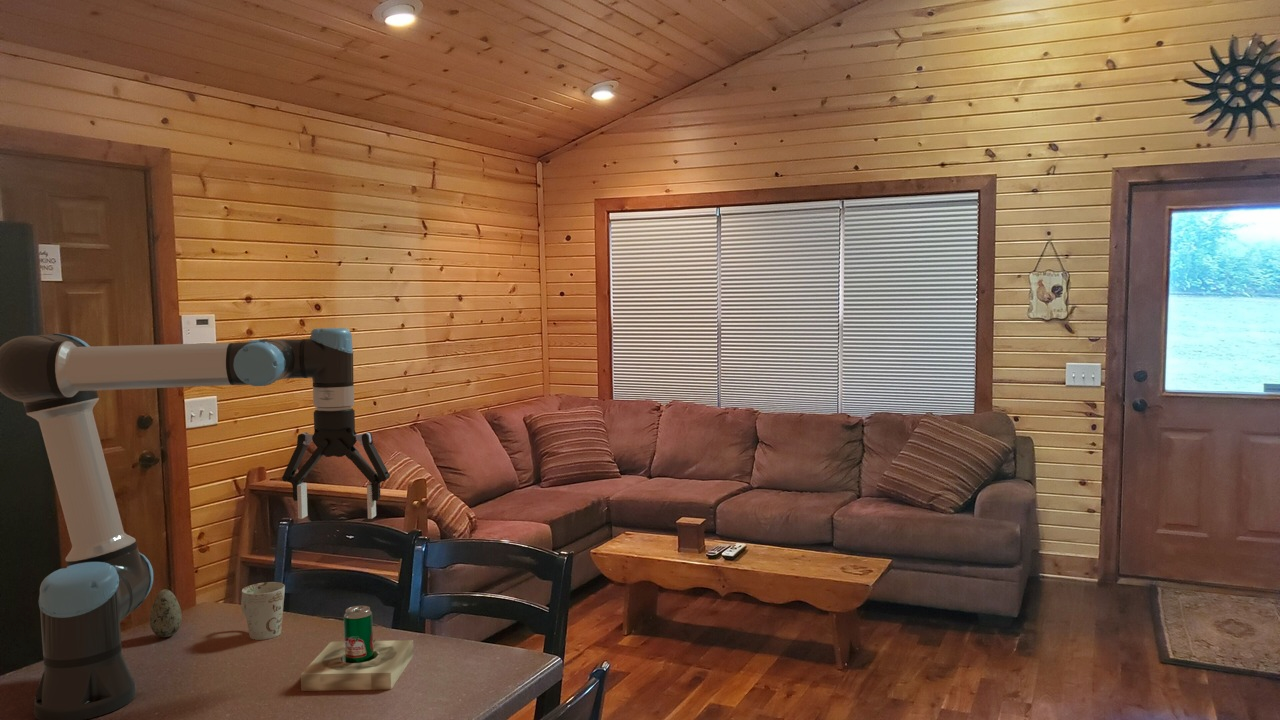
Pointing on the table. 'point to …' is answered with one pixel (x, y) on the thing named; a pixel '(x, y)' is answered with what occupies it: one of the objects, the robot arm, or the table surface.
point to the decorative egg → (165, 614)
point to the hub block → (357, 667)
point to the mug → (263, 609)
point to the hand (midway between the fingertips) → (337, 517)
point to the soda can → (358, 634)
